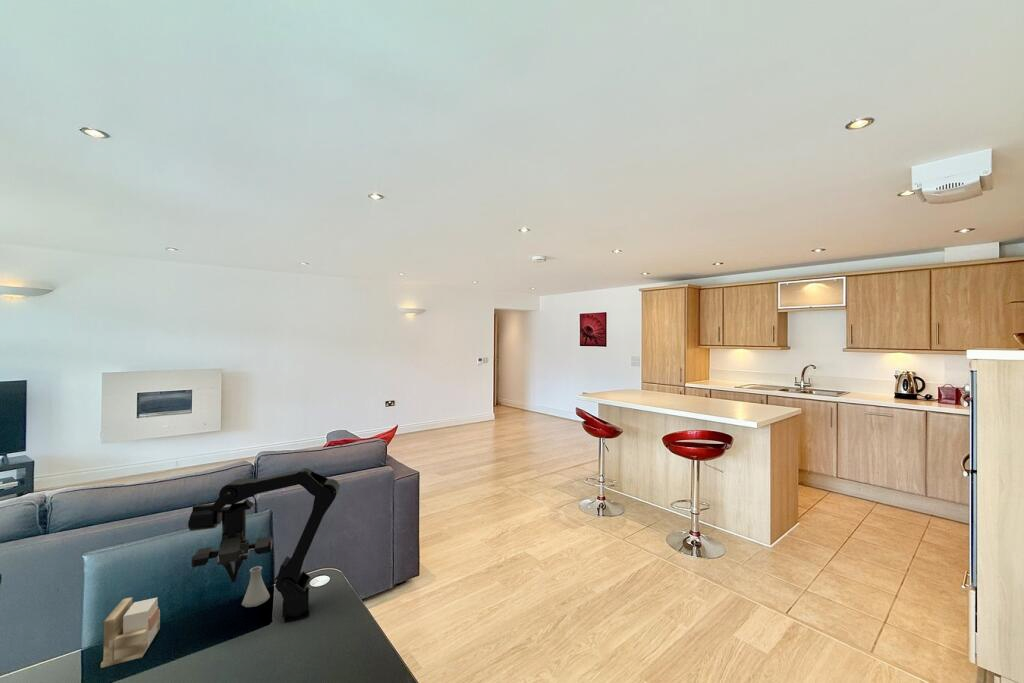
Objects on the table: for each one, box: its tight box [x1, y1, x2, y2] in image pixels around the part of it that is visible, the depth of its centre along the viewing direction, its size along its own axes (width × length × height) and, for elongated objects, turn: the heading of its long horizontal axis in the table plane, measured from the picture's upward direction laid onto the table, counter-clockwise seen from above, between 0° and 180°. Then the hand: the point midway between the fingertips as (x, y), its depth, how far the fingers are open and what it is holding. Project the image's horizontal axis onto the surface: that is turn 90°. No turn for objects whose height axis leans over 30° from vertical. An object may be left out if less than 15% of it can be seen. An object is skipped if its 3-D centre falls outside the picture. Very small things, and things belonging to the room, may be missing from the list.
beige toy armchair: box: [100, 596, 161, 669], centre depth 109 cm, size 8×11×11 cm
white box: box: [123, 597, 160, 648], centre depth 110 cm, size 5×7×9 cm
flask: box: [241, 565, 271, 608], centre depth 129 cm, size 7×7×10 cm
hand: (234, 581), depth 118 cm, fingers closed
